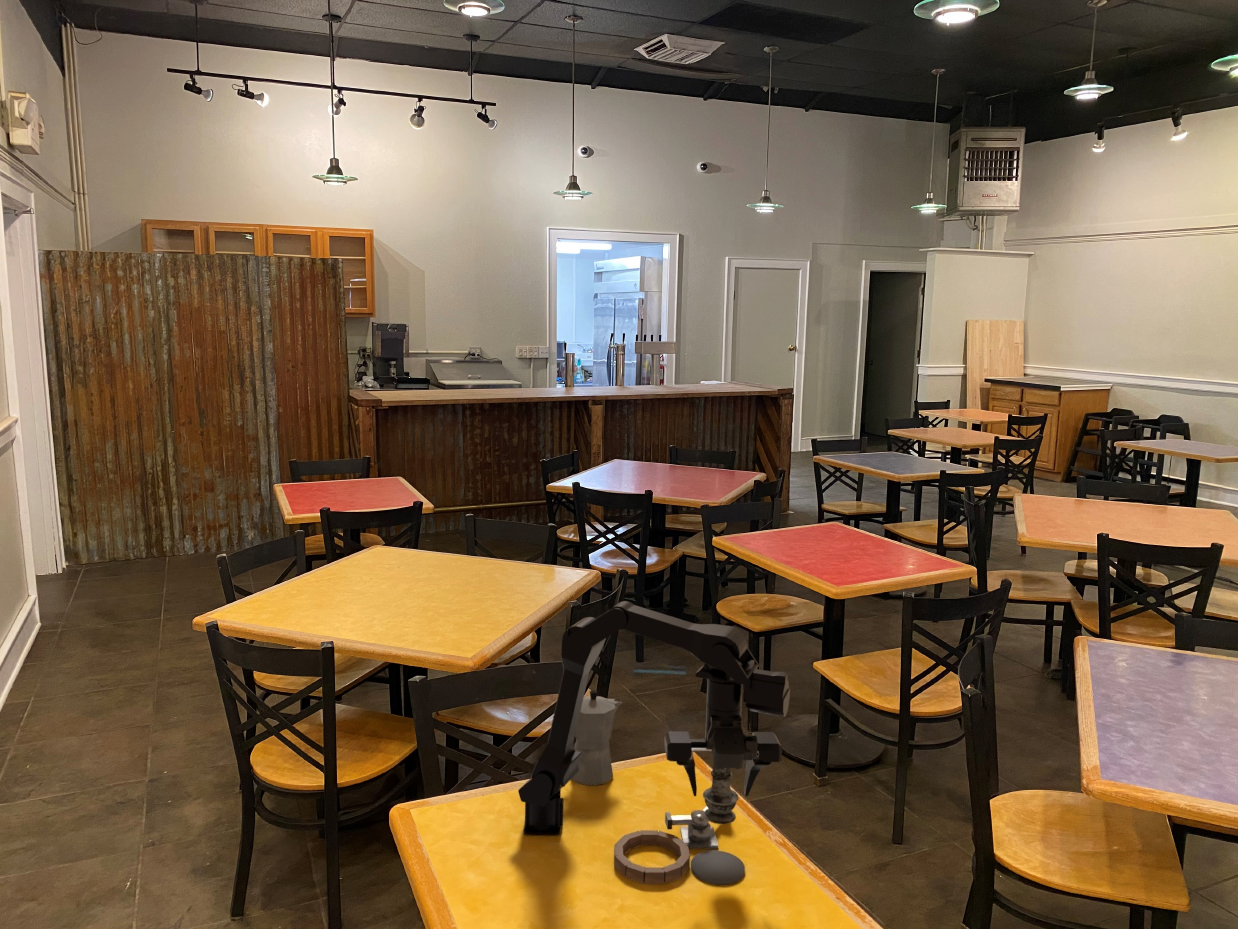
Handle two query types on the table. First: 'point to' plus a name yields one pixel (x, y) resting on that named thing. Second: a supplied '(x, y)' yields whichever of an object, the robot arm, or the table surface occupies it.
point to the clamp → (688, 819)
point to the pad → (717, 867)
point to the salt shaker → (720, 798)
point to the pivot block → (699, 837)
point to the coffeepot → (595, 739)
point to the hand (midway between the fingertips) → (720, 795)
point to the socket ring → (651, 873)
